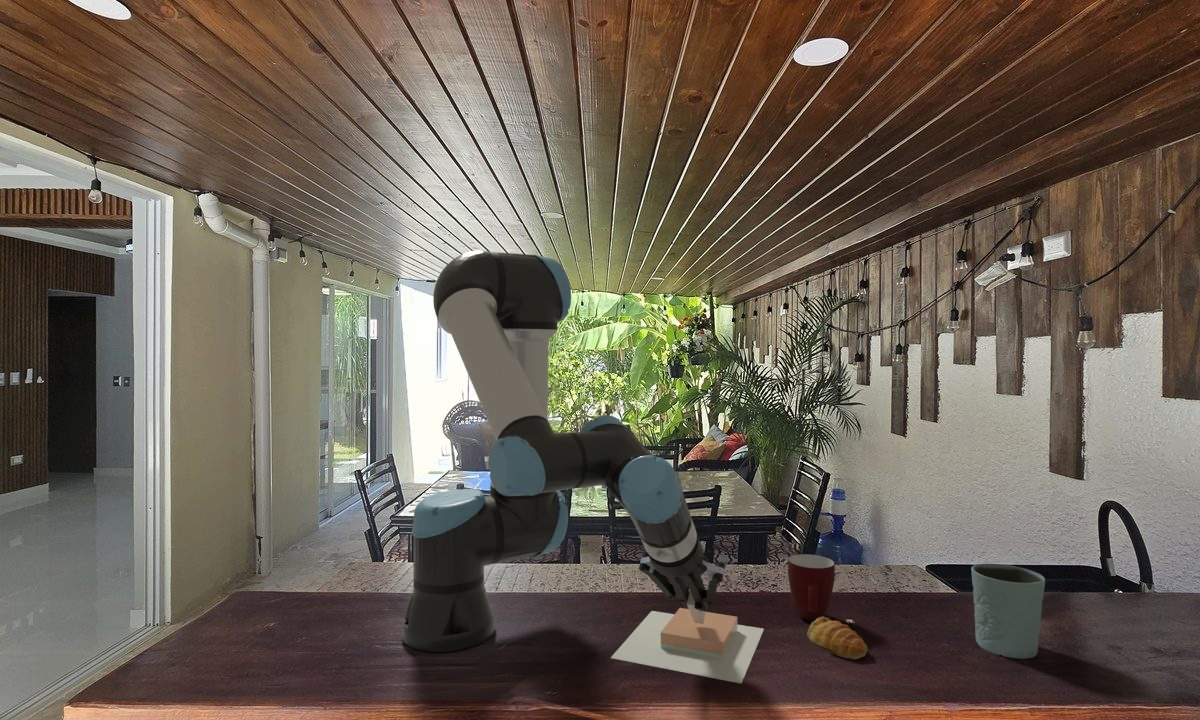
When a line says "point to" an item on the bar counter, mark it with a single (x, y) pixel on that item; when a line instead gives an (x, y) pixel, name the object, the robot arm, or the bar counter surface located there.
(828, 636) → the pastry
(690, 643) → the tile
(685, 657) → the mat
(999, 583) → the green ceramic cup
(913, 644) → the bar counter surface
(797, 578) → the mug
